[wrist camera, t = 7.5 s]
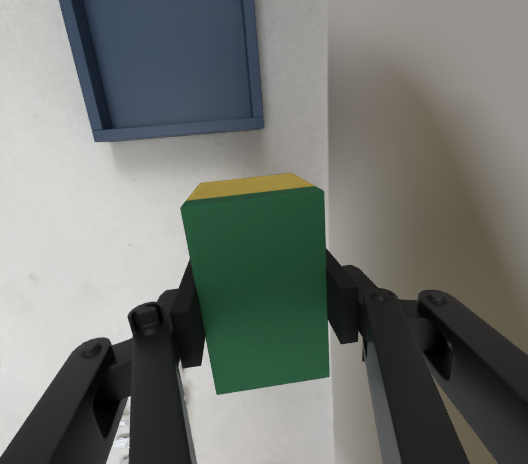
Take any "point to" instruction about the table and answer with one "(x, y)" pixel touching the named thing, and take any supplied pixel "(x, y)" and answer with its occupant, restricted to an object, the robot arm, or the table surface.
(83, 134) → the table surface
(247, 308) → the sponge
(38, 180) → the table surface
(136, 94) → the tray
